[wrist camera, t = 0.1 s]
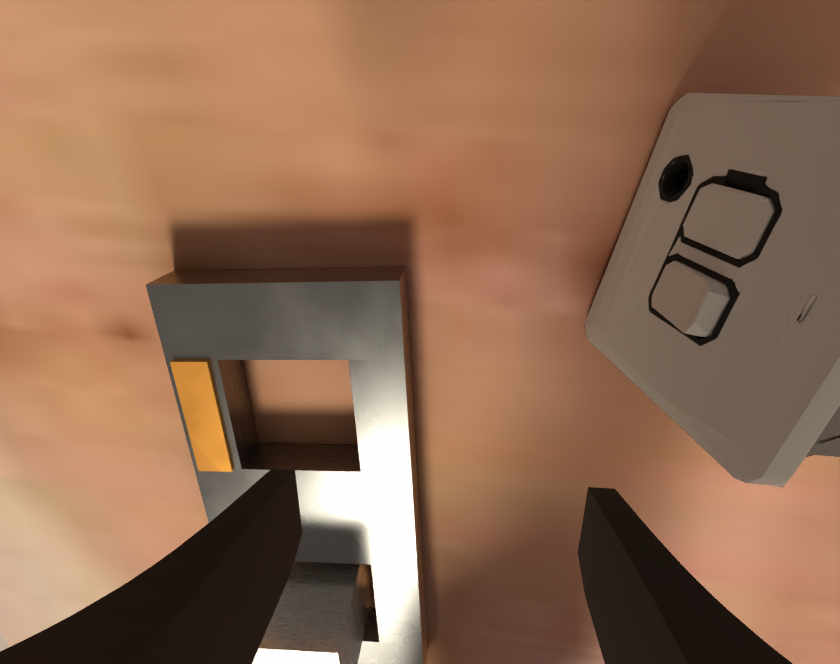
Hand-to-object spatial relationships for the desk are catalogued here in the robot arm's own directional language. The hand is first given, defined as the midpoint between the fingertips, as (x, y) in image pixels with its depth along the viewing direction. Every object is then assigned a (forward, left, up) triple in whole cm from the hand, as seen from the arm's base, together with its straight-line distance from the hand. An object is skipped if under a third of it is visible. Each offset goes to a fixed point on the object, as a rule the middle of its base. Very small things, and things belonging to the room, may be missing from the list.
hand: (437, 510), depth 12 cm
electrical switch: (+5, -9, -10) cm, 15 cm away
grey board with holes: (-8, +7, -10) cm, 14 cm away
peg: (-13, +7, -10) cm, 18 cm away
